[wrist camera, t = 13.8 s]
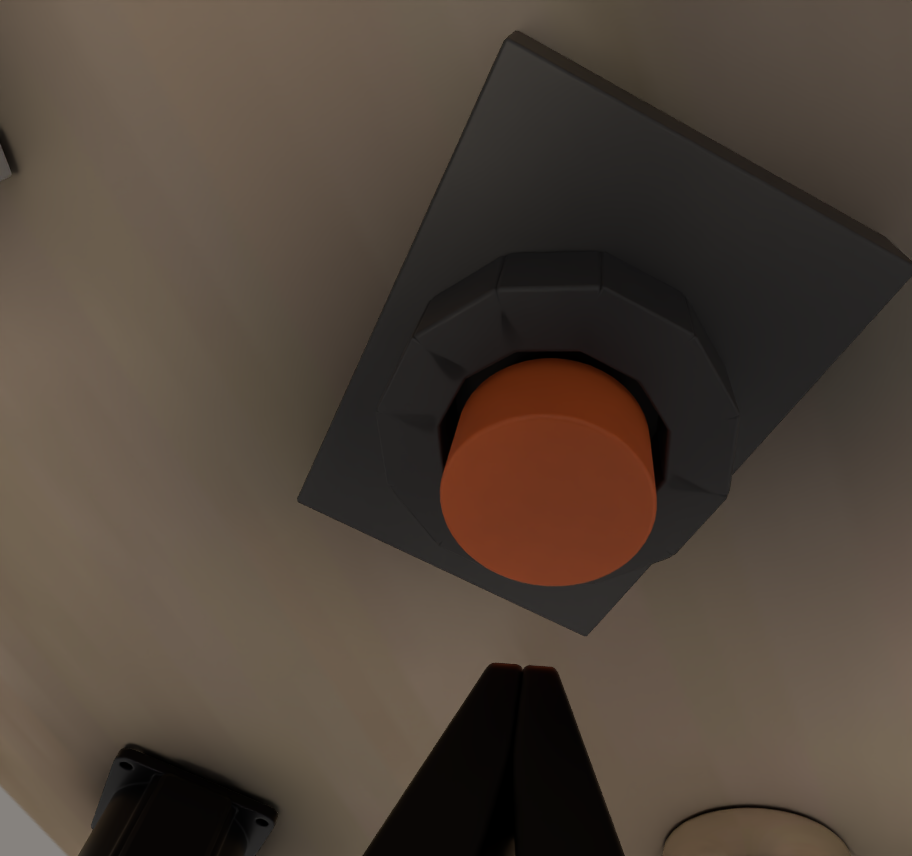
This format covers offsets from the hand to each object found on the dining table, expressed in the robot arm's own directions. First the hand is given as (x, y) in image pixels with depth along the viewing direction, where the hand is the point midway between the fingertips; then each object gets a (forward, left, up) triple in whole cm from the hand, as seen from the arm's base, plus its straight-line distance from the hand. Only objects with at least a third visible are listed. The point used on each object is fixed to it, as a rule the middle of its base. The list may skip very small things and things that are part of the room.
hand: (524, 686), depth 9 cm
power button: (0, 0, -6) cm, 6 cm away
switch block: (0, 0, -9) cm, 9 cm away
